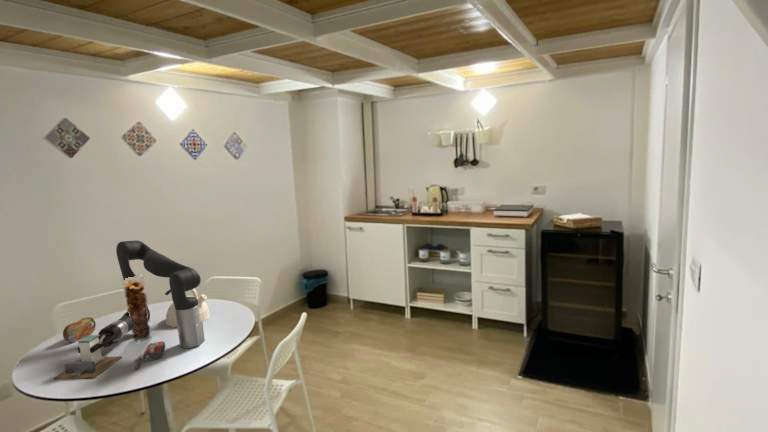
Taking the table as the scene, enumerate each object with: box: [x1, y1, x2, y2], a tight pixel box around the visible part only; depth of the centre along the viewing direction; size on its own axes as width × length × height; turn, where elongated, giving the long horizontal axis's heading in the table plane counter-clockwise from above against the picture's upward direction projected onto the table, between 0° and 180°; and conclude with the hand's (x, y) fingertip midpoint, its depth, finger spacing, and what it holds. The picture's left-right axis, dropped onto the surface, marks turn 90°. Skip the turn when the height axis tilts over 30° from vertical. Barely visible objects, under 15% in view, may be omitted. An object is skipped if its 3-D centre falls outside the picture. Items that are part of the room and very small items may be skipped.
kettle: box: [164, 288, 211, 328], centre depth 213 cm, size 20×21×18 cm
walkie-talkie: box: [134, 340, 166, 370], centre depth 174 cm, size 9×4×20 cm
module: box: [77, 334, 103, 363], centre depth 169 cm, size 4×5×10 cm
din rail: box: [71, 355, 107, 376], centre depth 168 cm, size 4×14×1 cm, turn 177°
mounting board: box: [53, 355, 123, 380], centre depth 168 cm, size 16×16×1 cm
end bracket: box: [64, 361, 96, 374], centre depth 163 cm, size 11×2×4 cm, turn 88°
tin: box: [62, 316, 97, 343], centre depth 197 cm, size 15×3×8 cm, turn 168°
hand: (85, 350), depth 166 cm, fingers closed on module, 4 cm apart
